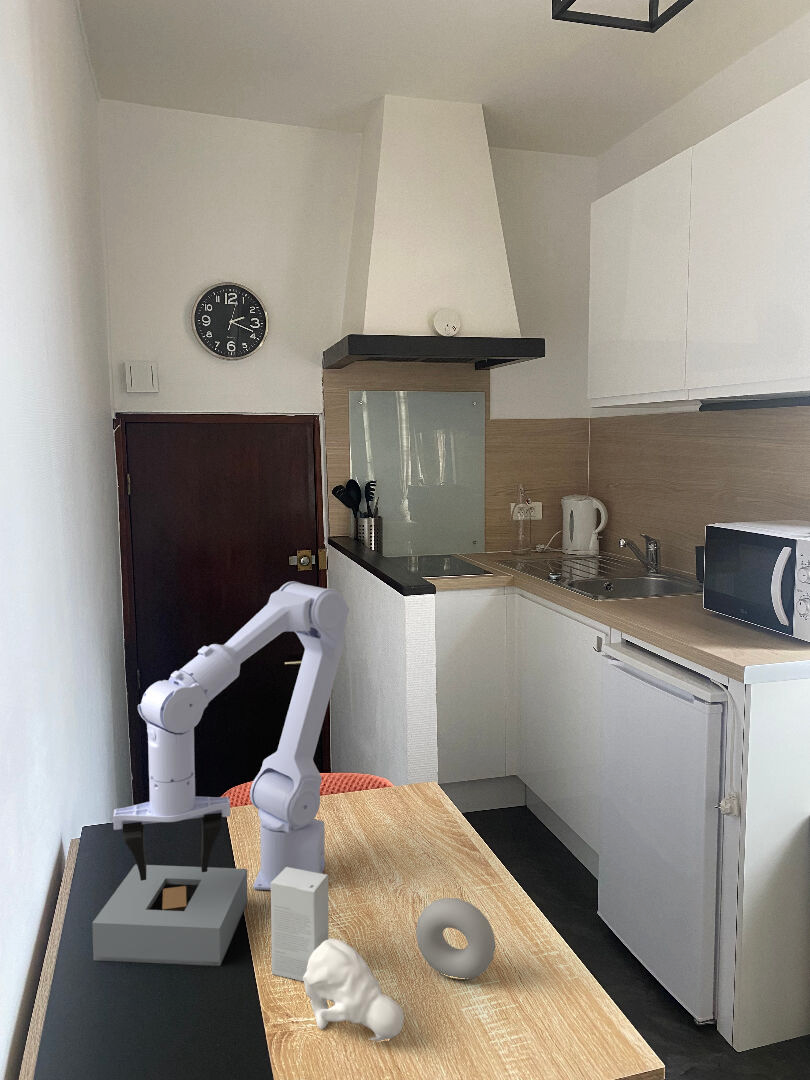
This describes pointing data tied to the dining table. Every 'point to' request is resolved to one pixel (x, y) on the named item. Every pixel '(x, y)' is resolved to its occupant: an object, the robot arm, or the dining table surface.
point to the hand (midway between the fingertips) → (174, 872)
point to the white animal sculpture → (349, 991)
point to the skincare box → (297, 920)
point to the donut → (469, 924)
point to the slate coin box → (171, 917)
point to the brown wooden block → (174, 899)
